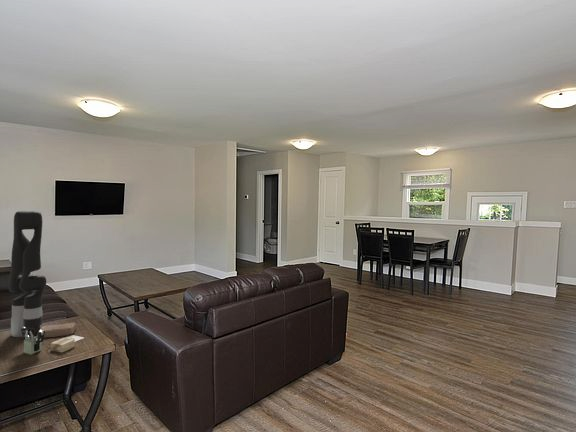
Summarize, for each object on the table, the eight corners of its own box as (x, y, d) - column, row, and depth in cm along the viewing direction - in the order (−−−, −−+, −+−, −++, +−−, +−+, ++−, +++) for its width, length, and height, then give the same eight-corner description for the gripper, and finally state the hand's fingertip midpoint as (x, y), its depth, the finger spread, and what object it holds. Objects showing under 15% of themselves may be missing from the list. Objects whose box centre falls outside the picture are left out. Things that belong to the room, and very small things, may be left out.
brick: (37, 338, 181) (37, 330, 180) (41, 333, 188) (42, 324, 188) (73, 335, 187) (73, 327, 187) (76, 329, 195) (76, 322, 195)
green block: (23, 352, 164) (23, 340, 164) (34, 348, 169) (34, 336, 168) (31, 354, 162) (31, 342, 162) (41, 350, 167) (41, 338, 167)
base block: (51, 350, 167) (51, 343, 167) (63, 345, 174) (63, 337, 174) (62, 352, 166) (62, 345, 165) (74, 347, 172) (74, 339, 172)
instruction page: (56, 341, 177) (56, 340, 177) (72, 335, 186) (72, 334, 186) (69, 344, 175) (69, 343, 175) (84, 338, 183) (84, 337, 183)
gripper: (14, 316, 163) (14, 350, 164) (35, 320, 159) (35, 355, 160) (30, 311, 171) (30, 344, 171) (50, 315, 166) (50, 349, 167)
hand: (32, 349), depth 165 cm, fingers closed on green block, 5 cm apart
